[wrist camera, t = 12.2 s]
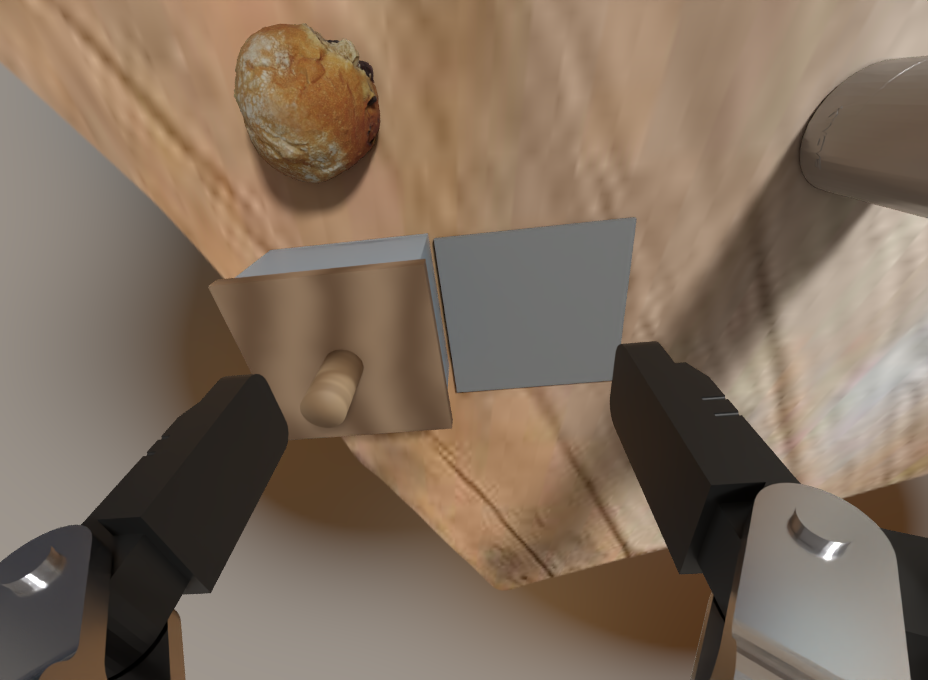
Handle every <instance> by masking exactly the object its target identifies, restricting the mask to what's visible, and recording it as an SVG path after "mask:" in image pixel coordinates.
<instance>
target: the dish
mask: <svg viewBox="0 0 928 680" xmlns="http://www.w3.org/2000/svg"><path fill="white" fill-rule="evenodd" d="M417 259H426V265H427V271H428V277H429V283H430V289H431V295H432V301H433V306H434V312H435V318H436V324H437V330H438V336H439V342H440V348H441V354H442V360H443V366H444V372H445V377H446V383H447V389H448V375H449V362H448V356H447V349H446V343H445V337H444V331H443V324H442V318H441V312H440V306H439V299H438V293H437V287H436V281H435V274H434V268H433V262H432V256H431V249H430V243H429V237H428V234H418V235H409V236H400V237H390V238H381V239H371V240H362V241H353V242H343V243H334V244H324V245H315V246H305V247H296V248H287V249H277V250H270V251H269V252H267V253H266V254H265V255H263V256H262V257H261V258H260V259H258V260H257V261H256V262H254V263H253V264H252V265H251V266H249V267H248V268H247V269H245V270H244V271H243V272H242V273H240V274H239V275H238V276H236V277H235V278H240V277H250V276H260V275H269V274H279V273H289V272H299V271H309V270H319V269H328V268H338V267H348V266H358V265H368V264H378V263H387V262H397V261H407V260H417Z"/></svg>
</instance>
